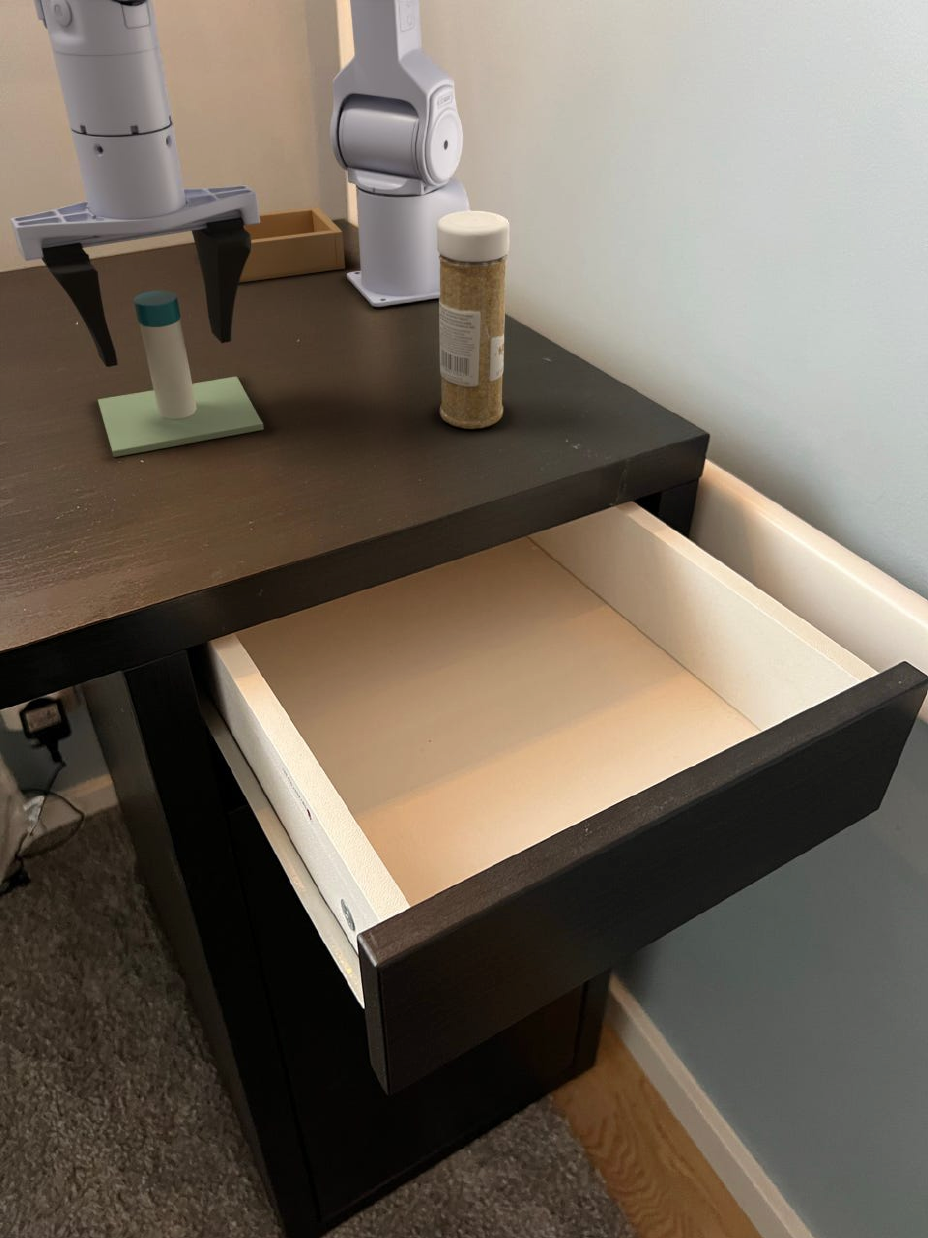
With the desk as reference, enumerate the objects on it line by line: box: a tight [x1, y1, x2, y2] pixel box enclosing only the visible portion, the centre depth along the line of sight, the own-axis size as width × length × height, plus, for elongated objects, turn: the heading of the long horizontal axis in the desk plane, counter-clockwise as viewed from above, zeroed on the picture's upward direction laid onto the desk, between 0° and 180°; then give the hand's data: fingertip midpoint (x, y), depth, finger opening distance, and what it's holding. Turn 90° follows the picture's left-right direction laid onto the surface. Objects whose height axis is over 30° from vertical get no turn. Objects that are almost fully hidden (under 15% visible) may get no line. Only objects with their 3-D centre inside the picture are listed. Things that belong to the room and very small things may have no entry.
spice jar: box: [437, 210, 511, 430], centre depth 64 cm, size 5×5×14 cm
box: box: [239, 206, 346, 284], centre depth 91 cm, size 12×8×3 cm
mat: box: [97, 376, 264, 458], centre depth 67 cm, size 10×8×1 cm
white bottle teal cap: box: [133, 290, 197, 419], centre depth 65 cm, size 3×3×8 cm
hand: (166, 348), depth 64 cm, fingers open, 7 cm apart
